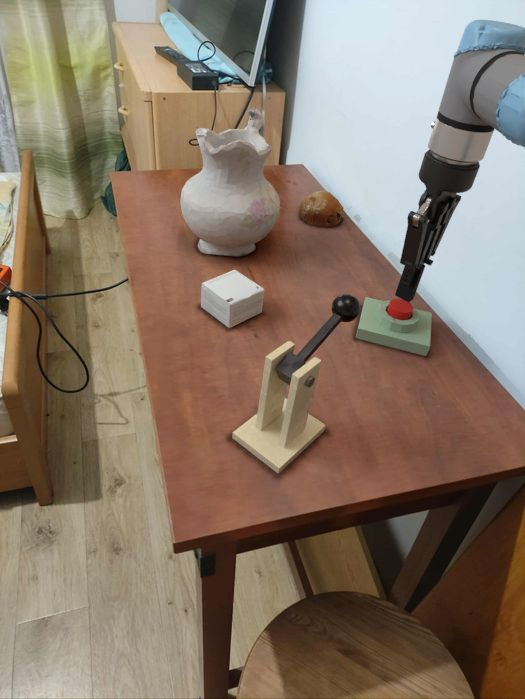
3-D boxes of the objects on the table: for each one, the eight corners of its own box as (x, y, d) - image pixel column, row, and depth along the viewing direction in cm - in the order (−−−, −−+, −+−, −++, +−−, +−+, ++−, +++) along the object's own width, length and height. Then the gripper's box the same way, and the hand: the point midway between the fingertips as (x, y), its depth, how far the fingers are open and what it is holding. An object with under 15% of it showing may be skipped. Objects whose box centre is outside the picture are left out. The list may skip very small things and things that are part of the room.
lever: (342, 300, 67) (342, 283, 64) (365, 313, 66) (366, 296, 63) (274, 377, 63) (270, 362, 60) (297, 392, 61) (294, 378, 58)
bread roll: (317, 220, 126) (310, 188, 123) (354, 217, 120) (347, 182, 117) (296, 233, 120) (288, 200, 117) (333, 230, 114) (326, 195, 110)
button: (410, 310, 88) (413, 302, 87) (409, 323, 85) (412, 315, 84) (387, 304, 89) (390, 296, 87) (385, 317, 86) (388, 309, 84)
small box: (233, 292, 93) (235, 268, 90) (262, 313, 89) (266, 289, 86) (199, 306, 88) (200, 282, 85) (228, 329, 84) (230, 304, 81)
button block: (428, 322, 92) (435, 304, 89) (426, 356, 85) (434, 338, 82) (362, 306, 94) (367, 288, 91) (355, 338, 86) (360, 319, 84)
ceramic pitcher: (202, 215, 117) (195, 98, 101) (286, 224, 114) (293, 105, 98) (172, 263, 100) (158, 131, 84) (269, 275, 98) (274, 142, 82)
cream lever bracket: (279, 400, 73) (293, 325, 64) (324, 431, 70) (345, 356, 61) (231, 438, 67) (239, 360, 58) (278, 474, 64) (294, 397, 55)
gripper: (448, 138, 75) (403, 273, 90) (406, 156, 67) (364, 302, 82) (497, 154, 72) (441, 292, 87) (459, 175, 64) (405, 323, 79)
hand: (404, 297), depth 85 cm, fingers closed
